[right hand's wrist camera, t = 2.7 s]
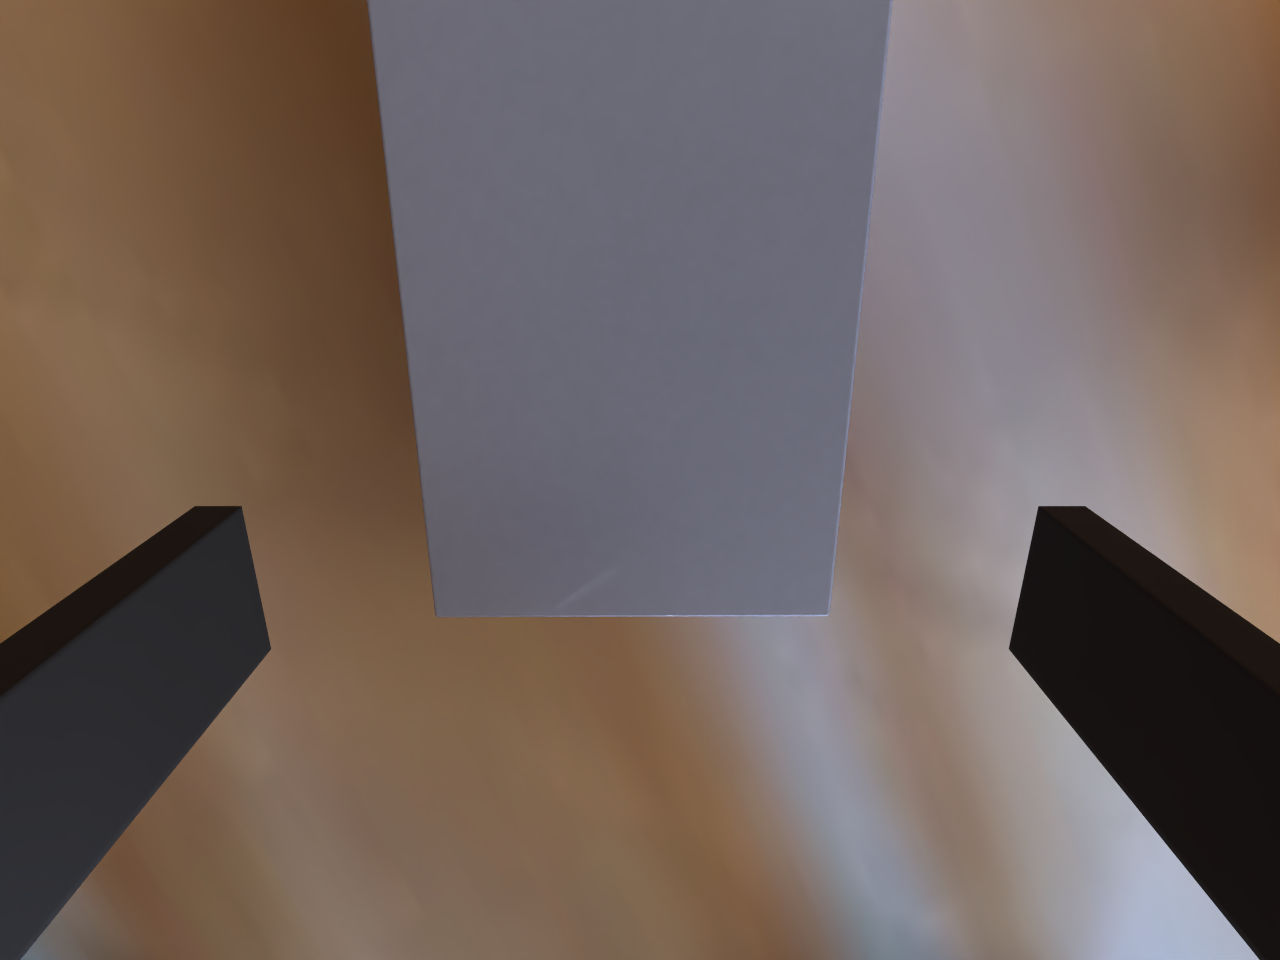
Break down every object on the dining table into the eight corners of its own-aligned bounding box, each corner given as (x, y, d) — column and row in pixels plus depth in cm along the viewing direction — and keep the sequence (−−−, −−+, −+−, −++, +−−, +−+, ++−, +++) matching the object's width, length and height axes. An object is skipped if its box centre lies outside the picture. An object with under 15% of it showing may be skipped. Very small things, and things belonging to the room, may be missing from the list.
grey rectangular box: (451, -132, 22) (325, -355, 13) (811, -132, 22) (930, -354, 13) (496, 488, 29) (435, 618, 20) (770, 488, 29) (830, 617, 20)
